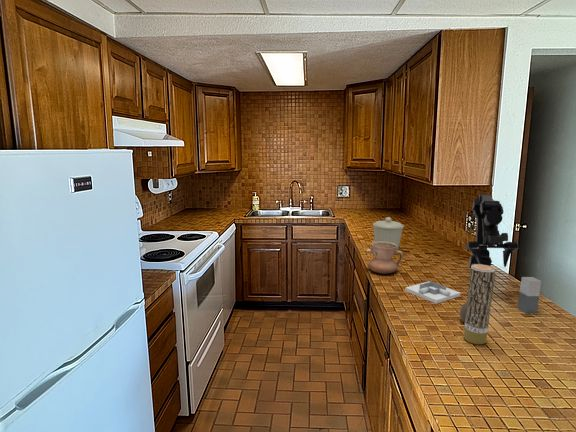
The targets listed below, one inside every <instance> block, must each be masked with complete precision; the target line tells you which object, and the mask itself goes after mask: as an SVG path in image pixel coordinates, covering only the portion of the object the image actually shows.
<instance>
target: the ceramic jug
mask: <svg viewBox="0 0 576 432" xmlns="http://www.w3.org/2000/svg"><path fill="white" fill-rule="evenodd" d="M396 248H397V245H396V244H394V243H390V242H374V241H373V242H372V243H371V248H367V249H366V252H367V253H371V254H372V255H373V256H374V258H372V259H371V260H369V261H368V262H367V263H366V265H367V267H368V268H369V270H371V271H372V272H374V273H378V274H383V275H384V274H387V275H388V274H392V273H395V272H396V271H398V269H399V266H400V264H401V262H402V260H403V258H404V253H403V252H402V251H401V250H398V251H396ZM397 254H399V259H398V260H397V262H396V261H395V260H393V257H394V256H395V255H397Z"/></svg>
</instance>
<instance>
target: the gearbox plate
mask: <svg viewBox="0 0 576 432" xmlns="http://www.w3.org/2000/svg"><path fill="white" fill-rule="evenodd" d="M404 291H405V292H407V293H409V294H412V295H414V296H417V297H419V298H421V299H424V300H426V301H428V302H431V303H433V304H436V305H437V304H439V303H443V302H445V301H449V300H452V299H455V298H456V299H457V298H459V297H461V293H462V292H461V291H460V292H459V291H457V290H454V289H452V288H449V287H447V286H444V285H442V284H439V283H436V282H433V281H430V280H428V281H425V282H421V283H418V284H413V285H410V286H407V287H405V288H404Z"/></svg>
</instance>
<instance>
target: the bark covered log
mask: <svg viewBox="0 0 576 432" xmlns="http://www.w3.org/2000/svg"><path fill="white" fill-rule="evenodd" d="M495 274H496V269H495V267H494V266H492V265H491V266H488V265H483V264H473V265H471V268H470V273H469V275H470V276H469V279H470V280H469V283H468V293H467V301H466V302H467V309H466V319H465V323H464V330H463V338H464V340H466V342H469V343H470V344H474V345H484V344H486V343H487V339H488V331H489V324H490V317H491V306H492V298H493V289H494V281H495Z"/></svg>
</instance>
